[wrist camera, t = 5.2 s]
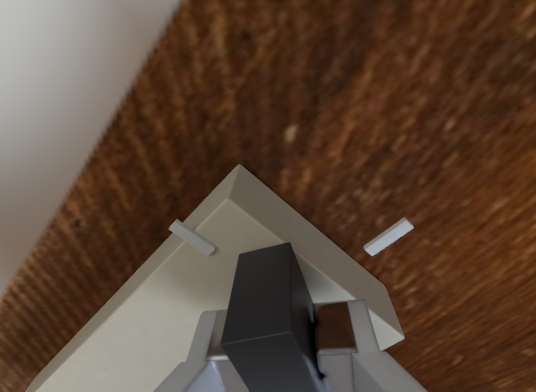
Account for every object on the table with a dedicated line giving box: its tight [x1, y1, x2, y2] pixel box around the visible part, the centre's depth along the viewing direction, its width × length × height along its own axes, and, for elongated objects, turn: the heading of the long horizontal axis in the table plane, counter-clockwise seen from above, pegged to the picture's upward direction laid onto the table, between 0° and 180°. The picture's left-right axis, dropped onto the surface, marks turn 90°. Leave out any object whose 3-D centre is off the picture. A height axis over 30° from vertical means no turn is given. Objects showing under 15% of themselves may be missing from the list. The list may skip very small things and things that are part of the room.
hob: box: [25, 164, 414, 392], centre depth 13 cm, size 21×9×3 cm, turn 137°
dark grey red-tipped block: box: [220, 242, 326, 392], centre depth 9 cm, size 5×2×3 cm, turn 19°
